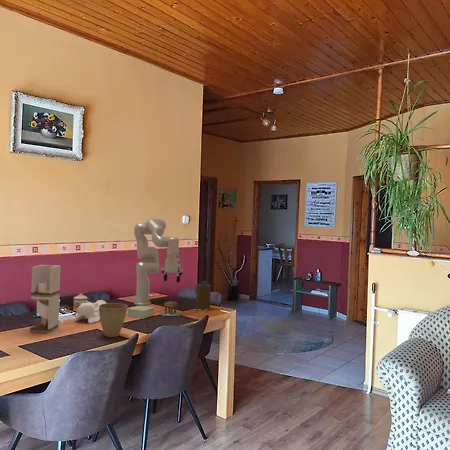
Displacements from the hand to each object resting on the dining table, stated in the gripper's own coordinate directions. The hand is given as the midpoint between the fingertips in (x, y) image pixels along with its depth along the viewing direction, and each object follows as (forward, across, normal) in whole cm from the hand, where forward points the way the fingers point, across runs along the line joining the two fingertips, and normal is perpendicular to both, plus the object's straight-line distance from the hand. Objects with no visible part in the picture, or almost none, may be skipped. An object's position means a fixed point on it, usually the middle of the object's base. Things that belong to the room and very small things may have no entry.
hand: (171, 281), depth 284 cm
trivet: (+22, 0, 0) cm, 22 cm away
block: (+22, +14, +14) cm, 30 cm away
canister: (+22, -10, -28) cm, 37 cm away
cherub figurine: (+22, +32, +40) cm, 56 cm away
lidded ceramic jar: (+22, +54, +24) cm, 63 cm away
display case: (+22, +38, +71) cm, 84 cm away
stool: (+21, 0, 0) cm, 21 cm away
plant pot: (+22, 0, +61) cm, 65 cm away
